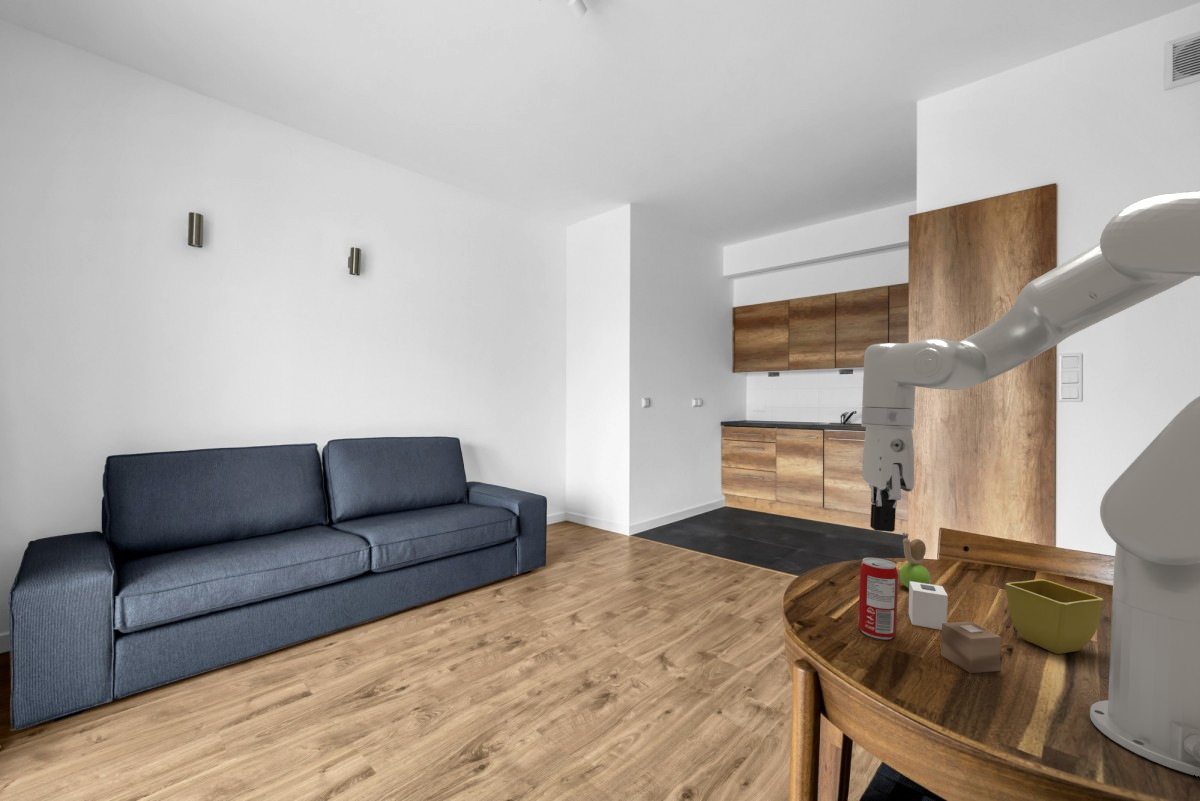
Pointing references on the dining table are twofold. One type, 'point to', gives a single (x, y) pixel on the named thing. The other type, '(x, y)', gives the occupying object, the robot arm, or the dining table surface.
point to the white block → (927, 605)
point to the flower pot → (1053, 614)
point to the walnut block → (971, 647)
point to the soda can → (878, 598)
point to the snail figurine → (914, 562)
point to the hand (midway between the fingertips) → (882, 529)
